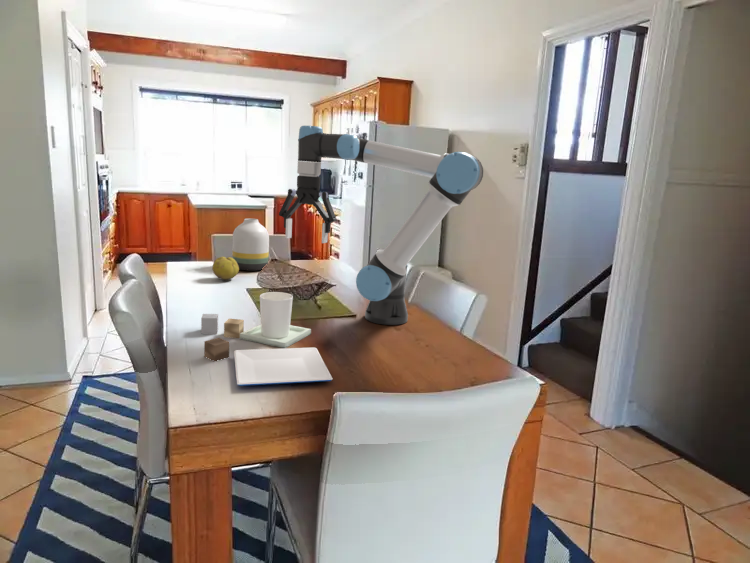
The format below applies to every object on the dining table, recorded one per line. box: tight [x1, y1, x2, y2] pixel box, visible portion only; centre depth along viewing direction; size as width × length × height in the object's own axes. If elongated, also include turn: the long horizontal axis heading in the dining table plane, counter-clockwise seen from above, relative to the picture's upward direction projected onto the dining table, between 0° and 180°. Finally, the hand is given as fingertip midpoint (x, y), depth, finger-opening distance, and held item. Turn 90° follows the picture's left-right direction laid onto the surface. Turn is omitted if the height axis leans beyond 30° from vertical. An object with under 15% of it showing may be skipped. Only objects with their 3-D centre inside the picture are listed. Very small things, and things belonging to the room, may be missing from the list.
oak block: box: [223, 318, 245, 339], centre depth 156 cm, size 4×4×4 cm
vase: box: [231, 218, 270, 272], centre depth 249 cm, size 17×17×24 cm
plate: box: [233, 347, 333, 387], centre depth 133 cm, size 22×22×2 cm
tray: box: [239, 323, 312, 349], centre depth 158 cm, size 15×15×2 cm
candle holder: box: [259, 291, 294, 338], centre depth 157 cm, size 10×10×12 cm
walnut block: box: [203, 337, 230, 362], centre depth 138 cm, size 4×4×4 cm
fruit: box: [212, 256, 240, 281], centre depth 225 cm, size 11×12×10 cm
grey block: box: [200, 313, 219, 335], centre depth 158 cm, size 4×4×5 cm
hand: (306, 240), depth 174 cm, fingers open, 13 cm apart
